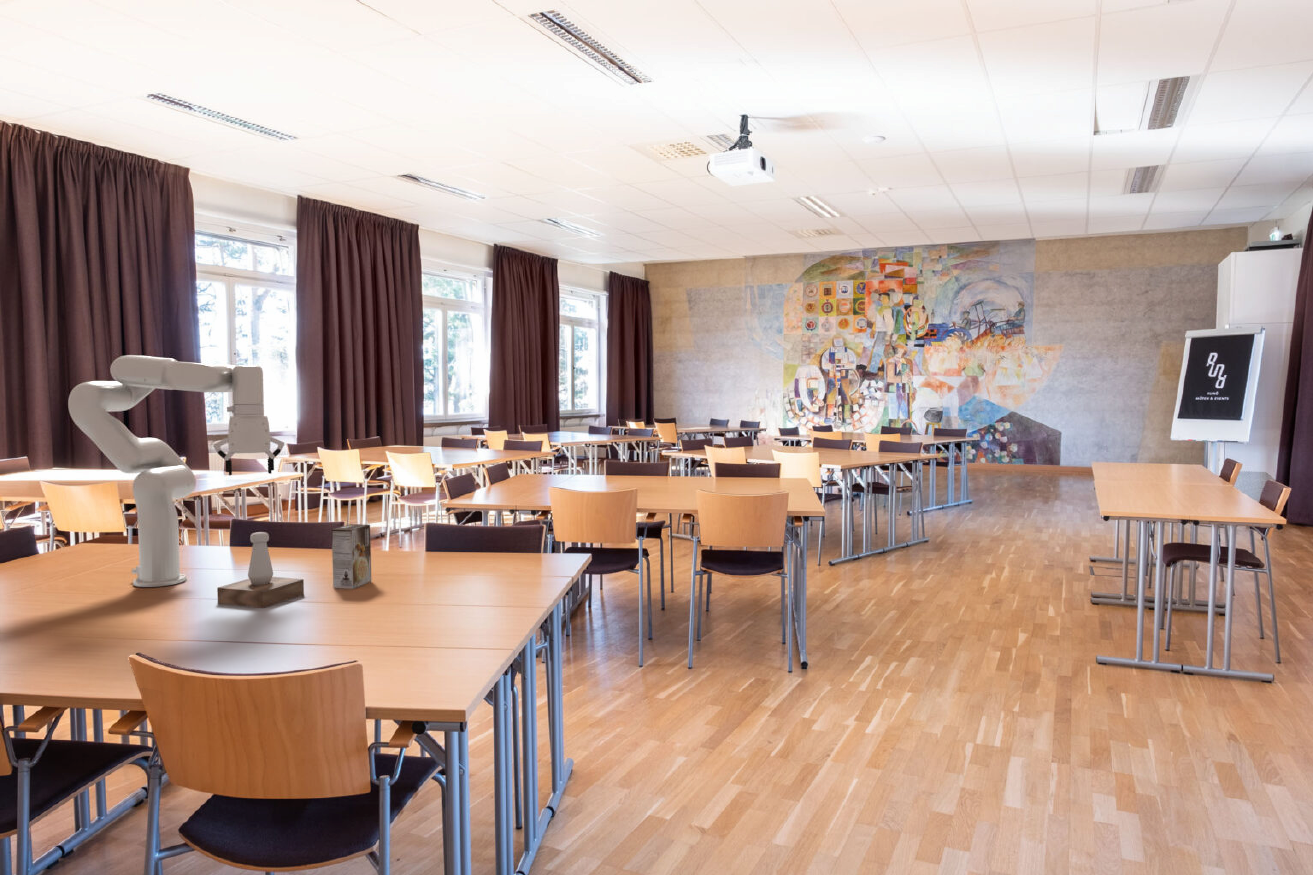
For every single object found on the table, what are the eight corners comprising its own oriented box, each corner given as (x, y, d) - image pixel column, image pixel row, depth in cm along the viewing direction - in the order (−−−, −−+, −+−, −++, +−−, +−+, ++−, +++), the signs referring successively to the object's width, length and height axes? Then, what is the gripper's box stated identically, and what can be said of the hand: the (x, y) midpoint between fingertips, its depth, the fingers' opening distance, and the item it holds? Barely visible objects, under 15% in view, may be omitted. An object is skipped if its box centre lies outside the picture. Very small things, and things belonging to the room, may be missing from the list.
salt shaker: (253, 580, 213) (252, 530, 212) (276, 580, 214) (275, 530, 213) (244, 586, 207) (243, 534, 207) (268, 585, 208) (266, 534, 207)
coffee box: (351, 580, 231) (350, 523, 230) (372, 581, 230) (371, 524, 229) (332, 588, 222) (330, 528, 222) (353, 589, 221) (352, 529, 220)
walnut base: (217, 603, 206) (217, 587, 206) (260, 590, 220) (259, 575, 219) (263, 607, 202) (263, 591, 202) (303, 594, 215) (303, 579, 215)
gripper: (212, 411, 216) (214, 476, 217) (284, 411, 224) (286, 473, 225) (212, 411, 223) (214, 474, 224) (282, 410, 231) (284, 471, 232)
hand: (250, 474), depth 225 cm, fingers open, 9 cm apart
